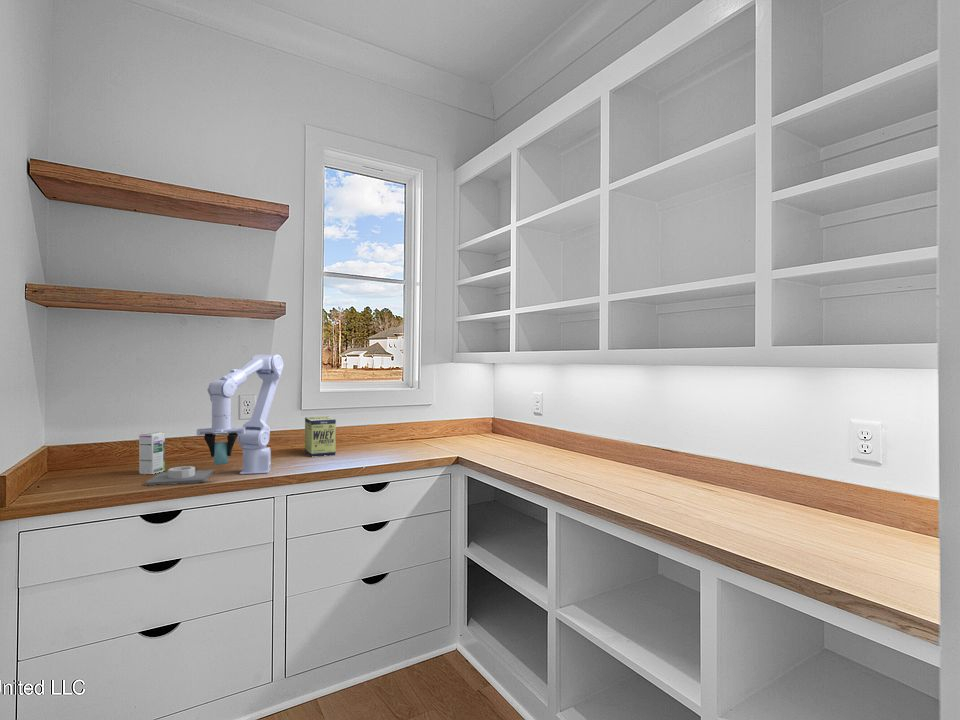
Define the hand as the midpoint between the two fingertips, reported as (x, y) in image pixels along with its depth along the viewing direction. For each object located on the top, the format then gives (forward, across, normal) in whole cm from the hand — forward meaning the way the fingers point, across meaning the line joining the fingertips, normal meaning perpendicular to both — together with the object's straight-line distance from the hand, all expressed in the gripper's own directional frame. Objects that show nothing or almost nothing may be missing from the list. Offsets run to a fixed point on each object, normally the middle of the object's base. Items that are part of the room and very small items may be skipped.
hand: (221, 455), depth 173 cm
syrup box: (+9, -27, +21) cm, 35 cm away
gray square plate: (+9, -14, +8) cm, 18 cm away
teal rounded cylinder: (+2, 0, 0) cm, 2 cm away
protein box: (+9, +30, +48) cm, 57 cm away
